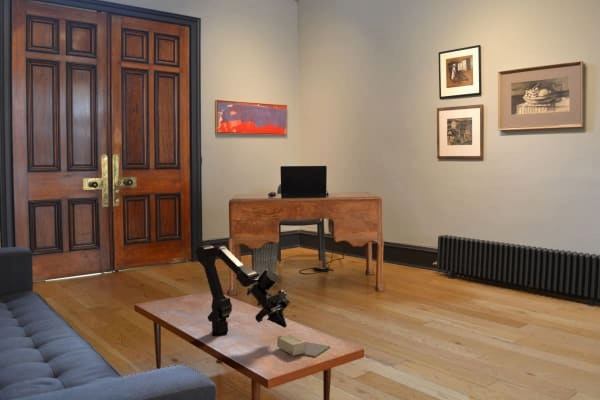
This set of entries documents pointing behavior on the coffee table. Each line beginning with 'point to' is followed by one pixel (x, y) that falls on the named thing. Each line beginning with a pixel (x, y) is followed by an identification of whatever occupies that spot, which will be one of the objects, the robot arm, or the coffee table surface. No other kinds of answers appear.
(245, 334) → the coffee table surface
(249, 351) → the coffee table surface
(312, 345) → the mat
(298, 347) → the skincare box
